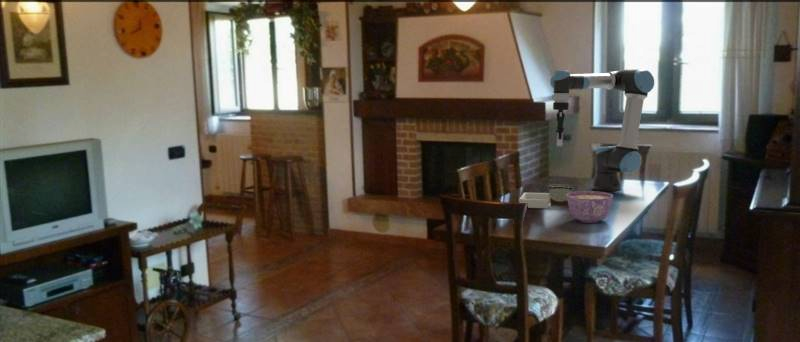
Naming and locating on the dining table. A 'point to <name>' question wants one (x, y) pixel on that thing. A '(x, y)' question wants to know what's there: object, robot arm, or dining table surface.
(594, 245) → the dining table surface
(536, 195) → the frame
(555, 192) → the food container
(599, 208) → the bowl of food
